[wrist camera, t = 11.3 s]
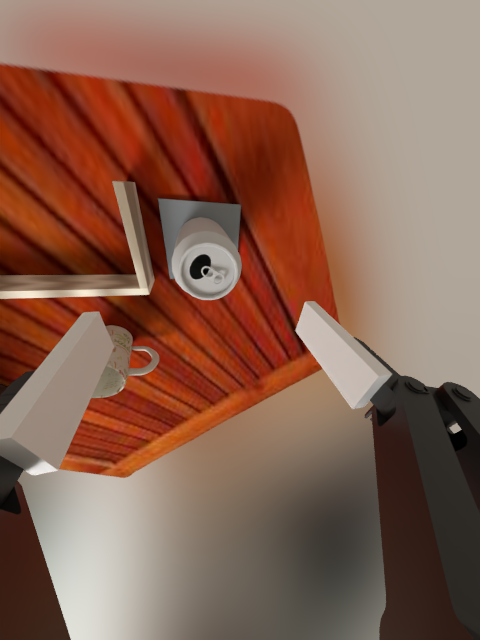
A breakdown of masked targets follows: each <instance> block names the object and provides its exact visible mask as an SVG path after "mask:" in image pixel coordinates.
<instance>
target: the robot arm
mask: <svg viewBox="0 0 480 640" xmlns="http://www.w3.org/2000/svg"><path fill="white" fill-rule="evenodd" d="M296 332H297V334H298V335H299V337H300V338H301V339H302V341H303V342H304V343H305V345H306V346H307V348H308V349H309V350H310V352H311V353H312V354H313V356H314V357H315V359H316V360H317V361H318V363H319V364H320V365H321V367H322V368H323V369H324V371H325V372H326V373H327V375H328V376H329V378H330V379H331V380H332V382H333V383H334V385H335V386H336V387H337V389H338V390H339V391H340V393H341V394H342V396H343V397H344V398H345V400H346V401H347V402H348V404H349V405H350V406H351V408H352V409H356V408H361V407H364V406H365V405H366V404H367V403H368V402H369V401H371V402H372V403H373V404H374V405H373V406H372V407H371V408H370V410H369V411H368V412H367V413H366V414H365V418H368V417H369V416H370V415H371V414H372V418H371V419H370V420H371V421H372V424H373V435H374V449H375V460H376V461H375V462H376V472H377V473H376V474H377V486H378V499H379V512H380V524H381V537H382V549H383V562H384V574H385V586H386V608H385V611H384V613H383V615H382V618H381V622H380V640H480V399H479V398H478V397H477V396H476V395H475V394H474V393H472V392H471V391H469V390H468V389H467V388H465V387H463V386H461V385H458V384H455V383H452V382H446V383H444V384H443V385H442V386H440V387H439V388H434V387H427V386H425V385H424V384H423V383H421V382H420V381H418V380H416V379H414V378H412V377H408V376H400V375H399V374H398V373H397V372H396V371H394V370H393V369H392V368H391V367H390V366H389V365H388V364H387V363H386V362H384V361H383V360H382V359H381V358H380V357H379V356H378V355H376V353H374V351H372V350H370V348H369V347H368V346H367V345H366V344H365V343H364V342H362V341H360V340H359V339H357V338H355V337H352V336H351V335H350V334H349V333H348V332H347V331H346V330H345V329H344V328H343V327H342V326H340V325H339V324H338V323H337V322H336V321H335V320H334V319H333V318H332V317H331V316H330V315H329V314H328V313H327V312H325V311H324V310H323V309H322V308H321V307H320V306H319V305H318V304H317V303H316V302H315V301H307V302H305V303H304V306H303V310H302V313H301V316H300V319H299V322H298V325H297V328H296ZM113 349H114V345H113V343H112V341H111V338H110V336H109V334H108V331H107V329H106V327H105V325H104V322H103V320H102V318H101V315H100V313H99V312H83V313H82V315H81V316H80V317H79V318H78V319H77V321H76V322H75V323H74V324H73V326H72V327H71V328H70V329H69V330H68V332H67V333H66V334H65V335H64V337H63V338H62V339H61V340H60V342H59V343H58V344H57V345H56V346H55V348H54V349H53V350H52V351H51V353H50V354H49V355H48V356H47V357H46V359H45V360H44V361H43V362H42V364H41V365H40V366H39V367H38V368H37V370H36V371H30V372H26V373H24V374H23V375H22V376H20V377H19V378H17V379H16V380H15V381H13V382H12V383H11V384H10V385H9V386H8V387H5V386H3V385H0V640H71V639H70V636H69V633H68V630H67V626H66V623H65V620H64V617H63V614H62V611H61V608H60V605H59V601H58V598H57V595H56V592H55V589H54V586H53V583H52V580H51V576H50V573H49V570H48V567H47V564H46V561H45V558H44V554H43V551H42V548H41V545H40V542H39V539H38V536H37V533H36V529H35V526H34V523H33V520H32V517H31V514H30V511H29V508H28V505H27V502H26V498H25V495H24V492H23V489H22V486H21V485H20V483H19V482H18V481H17V480H18V478H19V477H20V475H21V473H22V472H23V470H24V471H26V472H28V473H29V474H31V475H38V474H43V473H48V472H53V471H57V470H58V469H59V467H60V465H61V463H62V461H63V459H64V456H65V454H66V452H67V450H68V448H69V445H70V443H71V441H72V439H73V437H74V434H75V432H76V430H77V428H78V426H79V423H80V421H81V419H82V417H83V415H84V412H85V410H86V408H87V406H88V404H89V401H90V399H91V397H92V395H93V393H94V390H95V388H96V386H97V384H98V382H99V379H100V377H101V375H102V373H103V371H104V368H105V366H106V364H107V362H108V360H109V357H110V355H111V353H112V351H113ZM456 423H458V425H459V426H460V427H461V429H462V430H460V431H459V432H457V433H455V434H454V433H453V432H452V431H451V430H450V428H449V427H451V426H452V425H454V424H456Z"/></svg>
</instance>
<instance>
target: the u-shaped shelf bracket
mask: <svg viewBox="0 0 480 640" xmlns="http://www.w3.org/2000/svg"><path fill="white" fill-rule="evenodd" d="M112 182H113V186H114V190H115V194H116V197H117V201H118V205H119V209H120V213H121V217H122V221H123V224H124V228H125V232H126V236H127V240H128V244H129V248H130V251H131V255H132V259H133V263H134V267H135V271H136V275H0V299H11V298H47V297H84V296H120V295H149V294H150V292H151V289H152V286H153V284H154V281H155V279H154V274H153V269H152V264H151V259H150V254H149V250H148V245H147V240H146V235H145V230H144V225H143V220H142V215H141V210H140V205H139V200H138V195H137V190H136V185H135V182H127V181H112Z"/></svg>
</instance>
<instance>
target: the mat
mask: <svg viewBox="0 0 480 640" xmlns="http://www.w3.org/2000/svg"><path fill="white" fill-rule="evenodd" d="M158 202H159V209H160V216H161V222H162V229H163V236H164V242H165V249H166V256H167V262H168V269H169V275H170V279H175V277H174V275H173V272H172V257H173V253H174V248H175V244H176V240H177V237H178V234H179V230H180V229H181V228H182V226H183V225H184V224H185V223H186V222H188V221H189V220H191V219H194V218H199V217H202V218H209V219H211V220H213V221H215V222H217V223H218V224H219V225H220V226H221V227H222V228H223V230H224V231H225V232H226V234H227V235H228V237H229V238H230V239H231V241H232V242H233V244H234V245H235V247H236V249H237V251H238V240H239V226H240V211H241V205H239V204H226V203H213V202H200V201H187V200H174V199H161V198H158Z"/></svg>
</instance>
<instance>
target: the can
mask: <svg viewBox="0 0 480 640" xmlns="http://www.w3.org/2000/svg"><path fill="white" fill-rule="evenodd" d="M241 267H242V265H241V258H240V255H239V253H238V251H237V249H236V247H235V245H234V244H233V242H232V241H231V239H230V238H229V237H228V235H227V234H226V232H225V231H224V230H223V228H222V227H221V226H220V225H219V224H218V223H217V222H215V221H213V220H211V219H209V218H202V217H199V218H194V219H191V220H189V221H188V222H186V223H185V224H184V225H183V226H182V228H181V229H180V230H179V234H178V237H177V240H176V244H175V248H174V253H173V257H172V272H173V275H174V277H175V280H176V282H177V283H178V284H179V285H180V287H181V288H182V289H183V290H184V291H186V292H187V293H189V294H190V295H192V296H193V297H196V298H199V299H202V300H214V299H218V298H221V297H223V296H225V295H227V294H228V293H229V292H230V291H231V290H232V289H233V288H234V286H235V285H236V283H237V281H238V279H239V277H240V273H241Z"/></svg>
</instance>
